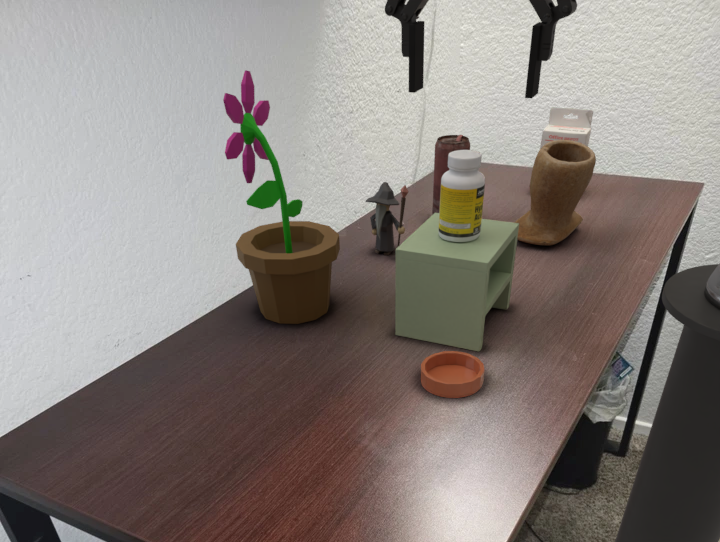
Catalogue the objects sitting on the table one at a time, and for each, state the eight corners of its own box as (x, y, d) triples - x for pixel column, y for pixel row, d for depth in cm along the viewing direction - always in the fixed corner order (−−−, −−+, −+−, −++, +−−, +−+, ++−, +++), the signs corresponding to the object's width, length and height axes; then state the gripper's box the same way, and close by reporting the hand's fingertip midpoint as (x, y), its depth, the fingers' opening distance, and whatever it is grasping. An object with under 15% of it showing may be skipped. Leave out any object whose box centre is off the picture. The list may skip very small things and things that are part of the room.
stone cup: (563, 257, 108) (580, 159, 98) (498, 242, 114) (508, 148, 104) (598, 228, 117) (617, 136, 107) (537, 216, 123) (549, 127, 113)
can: (470, 216, 124) (476, 135, 114) (457, 228, 119) (463, 144, 110) (440, 212, 126) (443, 131, 117) (427, 223, 122) (429, 141, 112)
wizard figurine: (361, 254, 112) (358, 180, 104) (377, 243, 115) (375, 170, 107) (404, 263, 108) (405, 187, 101) (419, 251, 112) (421, 176, 104)
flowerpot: (273, 282, 105) (245, 61, 85) (357, 293, 100) (348, 64, 81) (228, 322, 95) (185, 83, 75) (320, 337, 90) (299, 87, 71)
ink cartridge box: (532, 194, 132) (543, 112, 122) (538, 186, 135) (549, 106, 126) (576, 198, 129) (590, 115, 119) (580, 191, 132) (595, 108, 123)
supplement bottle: (479, 244, 83) (486, 160, 76) (436, 242, 83) (439, 160, 77) (481, 228, 87) (488, 147, 80) (440, 227, 87) (443, 147, 81)
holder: (490, 372, 82) (492, 358, 81) (471, 403, 77) (472, 389, 76) (433, 360, 85) (434, 346, 84) (411, 390, 80) (411, 375, 79)
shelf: (509, 306, 96) (519, 223, 88) (479, 351, 86) (488, 263, 78) (431, 293, 100) (434, 212, 92) (395, 335, 90) (395, 249, 82)
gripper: (348, -160, 62) (358, 94, 76) (622, -187, 54) (577, 106, 68) (380, -157, 67) (384, 81, 81) (635, -181, 59) (591, 90, 73)
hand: (471, 93), depth 74 cm, fingers open, 13 cm apart
